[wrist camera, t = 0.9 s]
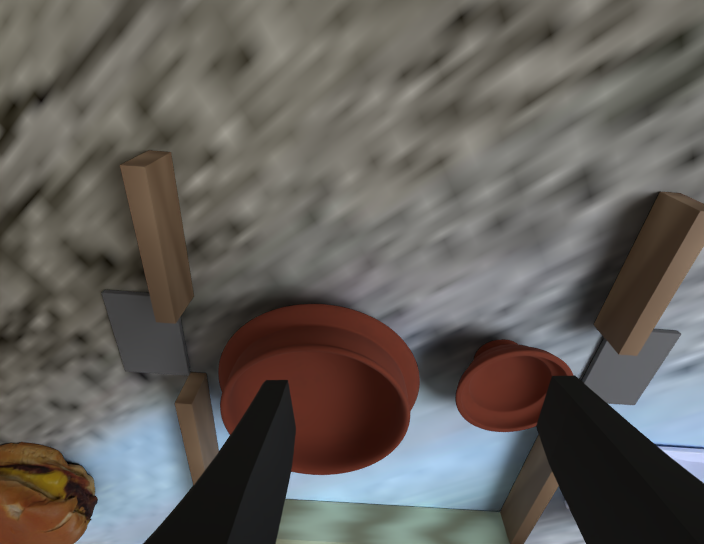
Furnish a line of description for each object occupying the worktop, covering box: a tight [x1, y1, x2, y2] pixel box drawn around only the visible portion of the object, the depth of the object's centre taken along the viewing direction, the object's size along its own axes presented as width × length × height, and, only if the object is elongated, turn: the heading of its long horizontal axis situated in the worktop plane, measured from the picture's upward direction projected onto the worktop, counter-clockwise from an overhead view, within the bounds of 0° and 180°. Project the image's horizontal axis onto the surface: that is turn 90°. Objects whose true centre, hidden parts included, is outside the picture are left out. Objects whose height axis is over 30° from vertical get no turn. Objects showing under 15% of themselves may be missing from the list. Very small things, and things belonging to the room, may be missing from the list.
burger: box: [0, 442, 98, 544], centre depth 29 cm, size 10×9×5 cm
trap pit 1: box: [101, 290, 191, 376], centre depth 23 cm, size 4×6×1 cm, turn 176°
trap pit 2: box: [582, 329, 681, 405], centre depth 24 cm, size 4×6×1 cm, turn 176°
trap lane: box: [120, 150, 704, 544], centre depth 24 cm, size 25×29×3 cm
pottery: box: [218, 304, 573, 475], centre depth 22 cm, size 12×20×4 cm, turn 93°
